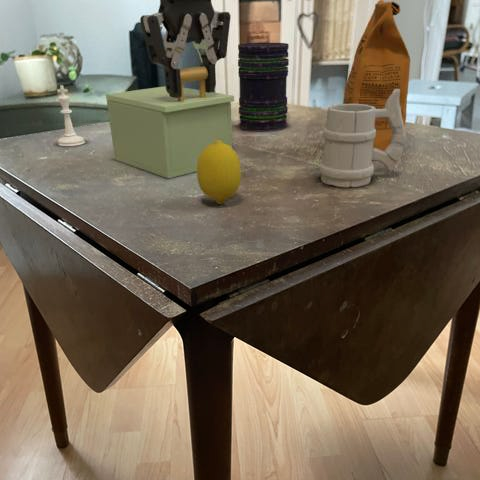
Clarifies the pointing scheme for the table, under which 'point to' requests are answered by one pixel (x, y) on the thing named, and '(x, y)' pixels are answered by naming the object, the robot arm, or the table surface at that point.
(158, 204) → the table surface
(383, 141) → the coffee package
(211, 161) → the lemon
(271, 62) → the storage jar
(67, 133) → the chess piece
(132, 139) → the box
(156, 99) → the lid
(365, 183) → the mug
